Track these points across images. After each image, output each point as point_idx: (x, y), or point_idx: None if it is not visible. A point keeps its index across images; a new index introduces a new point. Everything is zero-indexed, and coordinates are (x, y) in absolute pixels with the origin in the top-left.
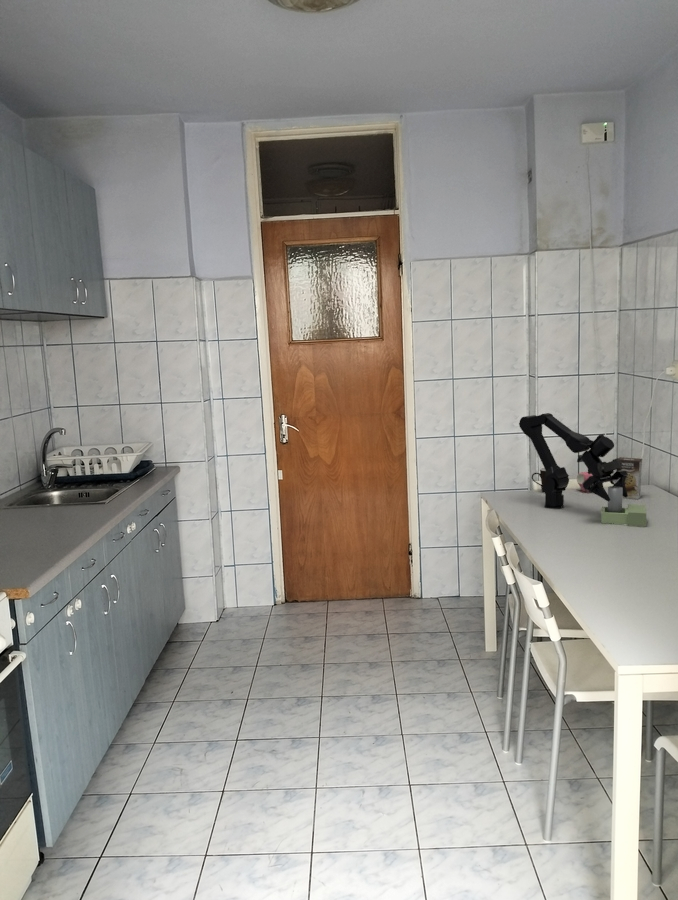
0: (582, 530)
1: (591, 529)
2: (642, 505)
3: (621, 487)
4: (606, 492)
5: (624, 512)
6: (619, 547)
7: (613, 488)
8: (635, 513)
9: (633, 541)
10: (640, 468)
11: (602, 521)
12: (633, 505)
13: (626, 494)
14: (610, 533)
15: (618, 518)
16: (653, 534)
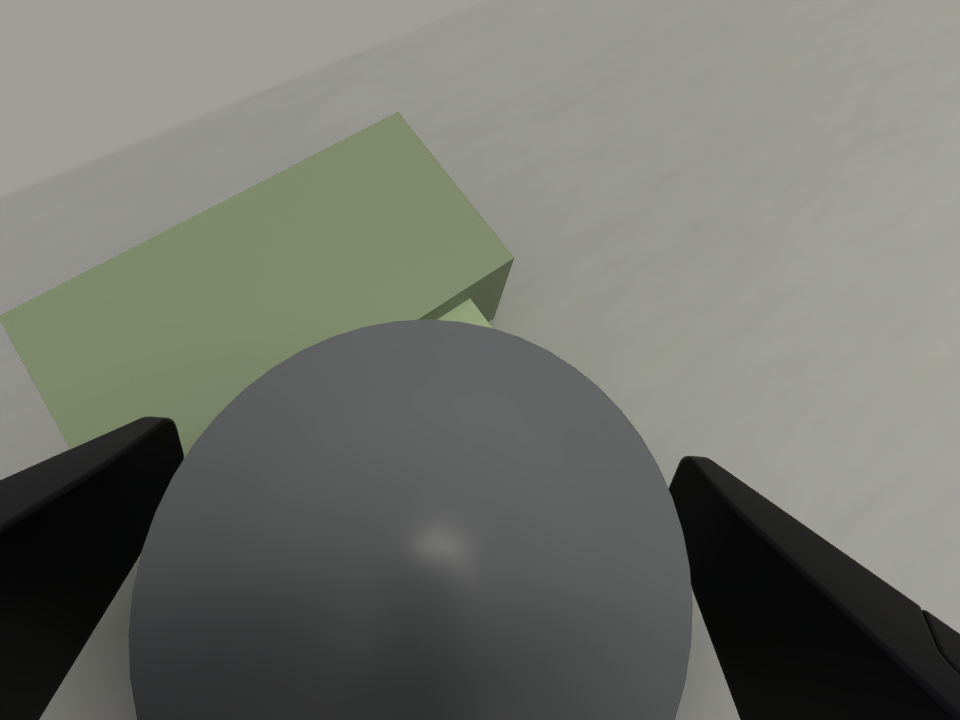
0: (914, 494)
1: (828, 461)
2: (47, 330)
3: (220, 447)
4: (814, 581)
5: None
6: (938, 85)
7: (583, 542)
8: (464, 203)
9: (779, 90)
10: None
11: None
12: (130, 415)
13: (146, 431)
14: (776, 287)
15: None
16: (543, 81)
